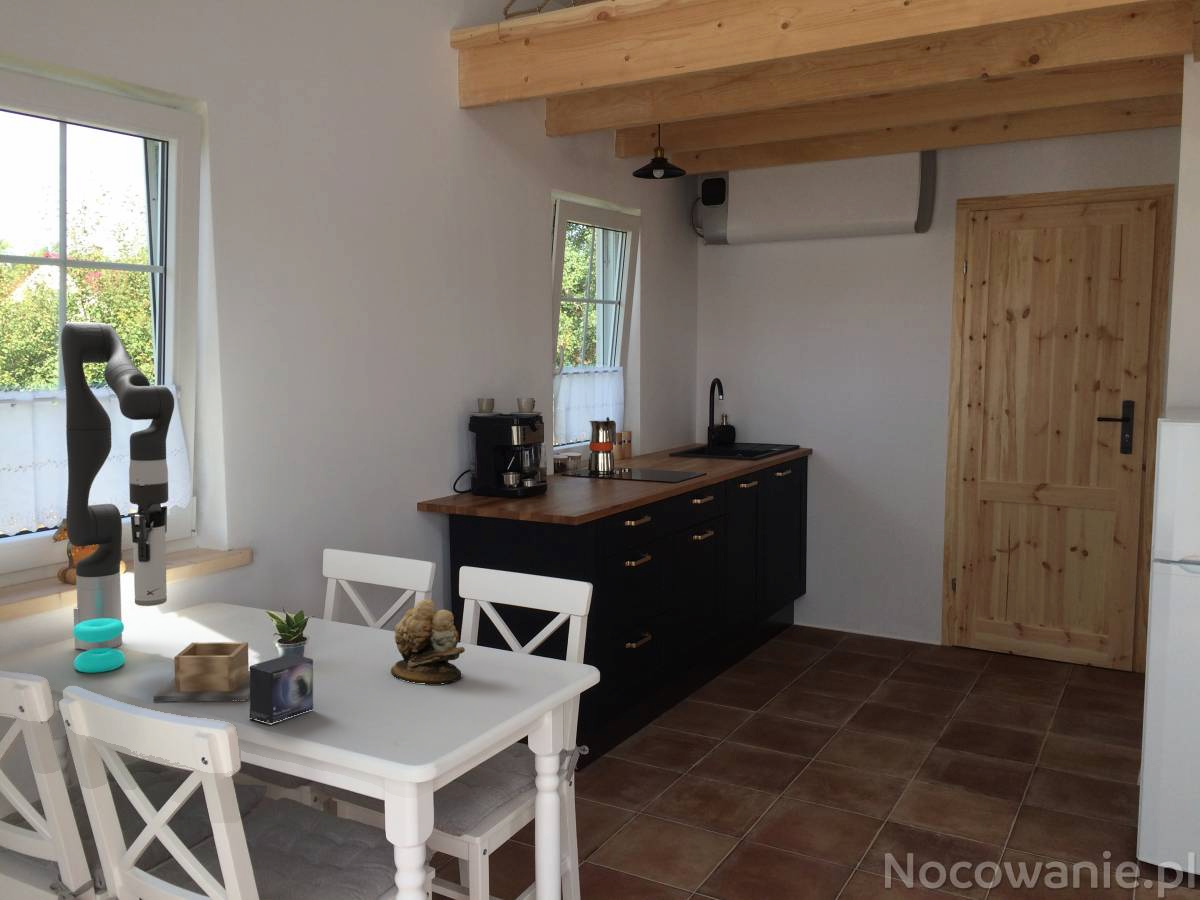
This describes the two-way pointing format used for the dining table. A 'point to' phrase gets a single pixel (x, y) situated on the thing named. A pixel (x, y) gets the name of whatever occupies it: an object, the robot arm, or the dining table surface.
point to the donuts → (101, 656)
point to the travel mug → (152, 566)
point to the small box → (281, 688)
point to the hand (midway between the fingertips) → (150, 558)
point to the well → (209, 673)
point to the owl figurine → (427, 645)
